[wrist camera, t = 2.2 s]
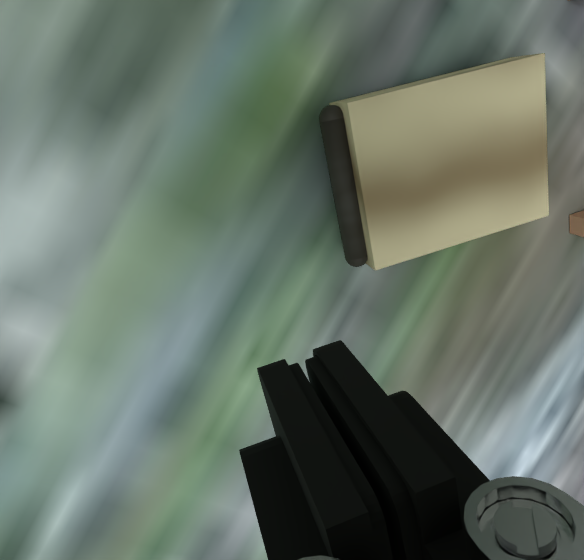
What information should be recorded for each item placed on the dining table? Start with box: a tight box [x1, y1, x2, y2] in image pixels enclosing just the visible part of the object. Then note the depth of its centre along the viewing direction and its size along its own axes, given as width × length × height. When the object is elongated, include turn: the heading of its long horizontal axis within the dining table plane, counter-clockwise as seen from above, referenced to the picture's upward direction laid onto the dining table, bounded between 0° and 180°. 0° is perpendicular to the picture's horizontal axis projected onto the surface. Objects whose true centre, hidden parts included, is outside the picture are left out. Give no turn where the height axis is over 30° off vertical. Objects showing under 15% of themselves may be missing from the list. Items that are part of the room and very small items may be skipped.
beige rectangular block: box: [319, 53, 549, 270], centre depth 26 cm, size 8×11×4 cm
